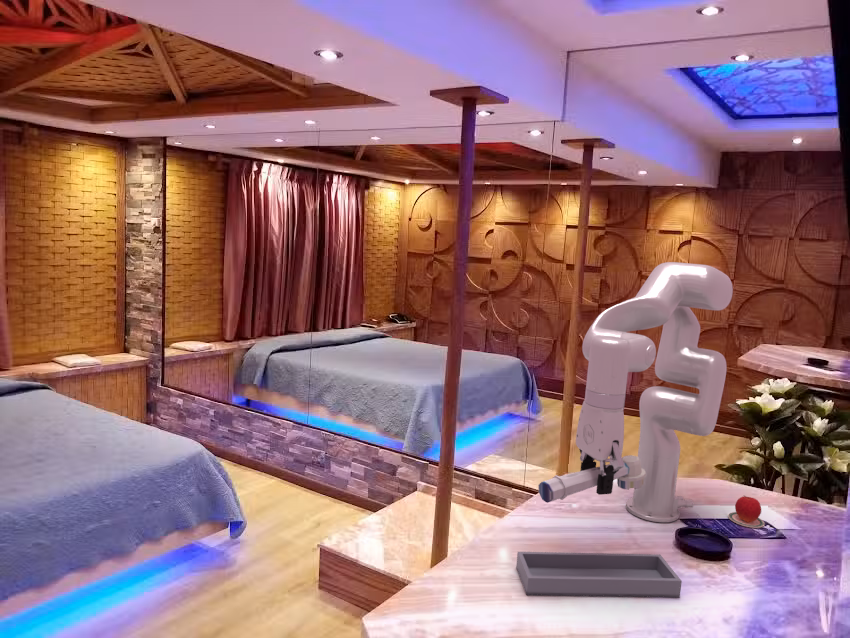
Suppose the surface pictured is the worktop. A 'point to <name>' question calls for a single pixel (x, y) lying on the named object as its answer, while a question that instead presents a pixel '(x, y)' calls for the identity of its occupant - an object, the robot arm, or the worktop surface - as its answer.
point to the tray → (597, 575)
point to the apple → (747, 513)
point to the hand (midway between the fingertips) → (595, 486)
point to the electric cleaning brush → (592, 480)
